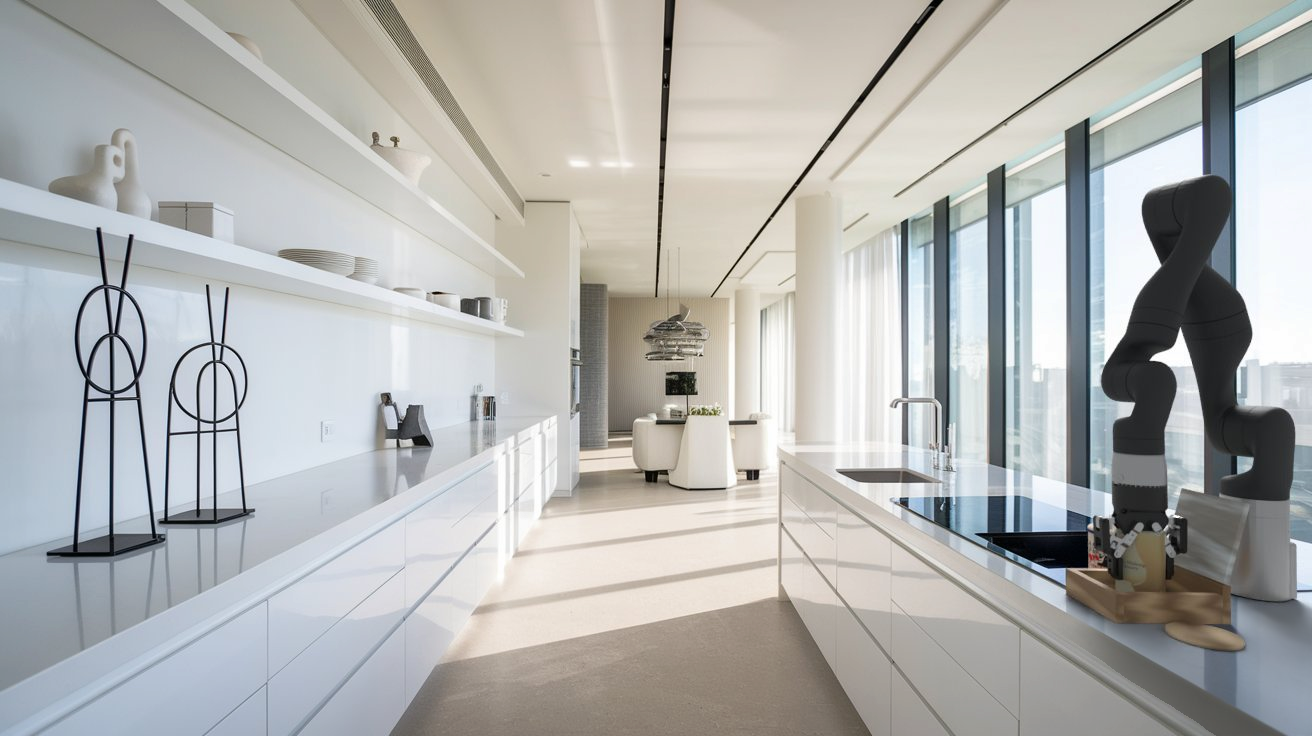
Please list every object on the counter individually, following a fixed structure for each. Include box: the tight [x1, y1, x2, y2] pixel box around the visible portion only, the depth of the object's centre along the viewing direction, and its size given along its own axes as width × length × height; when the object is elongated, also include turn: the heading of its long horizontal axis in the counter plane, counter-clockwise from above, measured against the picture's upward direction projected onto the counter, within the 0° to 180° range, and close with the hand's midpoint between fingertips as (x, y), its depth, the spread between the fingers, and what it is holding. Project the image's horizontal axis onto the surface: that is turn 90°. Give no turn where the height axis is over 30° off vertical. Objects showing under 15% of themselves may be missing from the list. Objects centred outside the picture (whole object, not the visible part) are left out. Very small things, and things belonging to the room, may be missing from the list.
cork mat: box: [1164, 622, 1245, 652], centre depth 96 cm, size 9×9×1 cm
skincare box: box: [1115, 529, 1166, 592], centre depth 108 cm, size 6×4×12 cm
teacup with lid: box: [1086, 513, 1116, 569], centre depth 124 cm, size 12×9×12 cm
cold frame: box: [1065, 487, 1250, 625], centre depth 109 cm, size 21×14×19 cm
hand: (1140, 578), depth 108 cm, fingers closed on skincare box, 7 cm apart
